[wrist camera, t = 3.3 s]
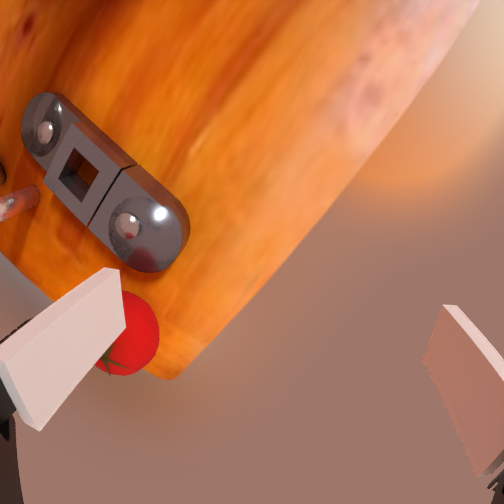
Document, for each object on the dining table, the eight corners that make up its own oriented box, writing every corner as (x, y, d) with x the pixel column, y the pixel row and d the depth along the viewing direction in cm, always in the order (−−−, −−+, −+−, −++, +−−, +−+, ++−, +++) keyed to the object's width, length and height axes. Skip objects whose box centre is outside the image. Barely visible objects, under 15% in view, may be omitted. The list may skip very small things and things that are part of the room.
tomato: (132, 351, 45) (105, 395, 36) (88, 295, 42) (50, 334, 32) (185, 330, 42) (161, 382, 32) (136, 264, 38) (96, 306, 29)
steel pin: (25, 196, 36) (-30, 221, 25) (31, 180, 35) (-27, 203, 24) (36, 209, 37) (-20, 237, 26) (42, 193, 36) (-16, 219, 25)
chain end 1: (23, 133, 32) (11, 135, 30) (48, 81, 29) (36, 81, 27) (102, 216, 36) (92, 223, 34) (137, 163, 33) (127, 166, 30)
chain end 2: (61, 175, 34) (40, 182, 30) (91, 121, 31) (68, 122, 27) (163, 271, 38) (149, 289, 34) (205, 223, 35) (193, 237, 31)
